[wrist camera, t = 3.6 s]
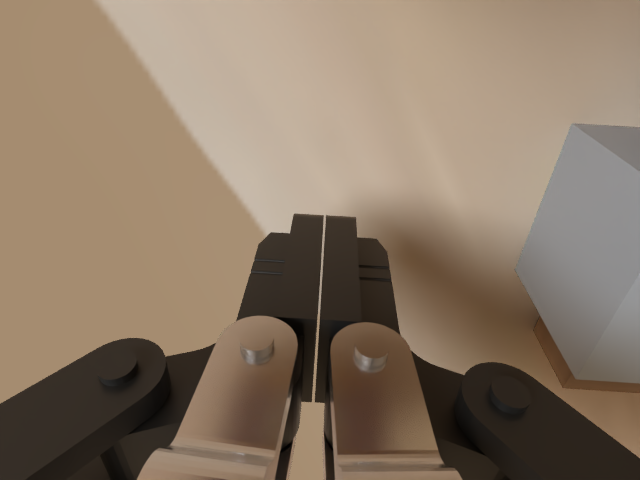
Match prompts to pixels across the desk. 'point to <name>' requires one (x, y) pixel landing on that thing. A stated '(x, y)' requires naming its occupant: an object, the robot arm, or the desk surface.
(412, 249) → the desk surface
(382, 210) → the desk surface
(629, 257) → the slate block
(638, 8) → the desk surface
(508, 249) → the desk surface
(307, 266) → the robot arm
